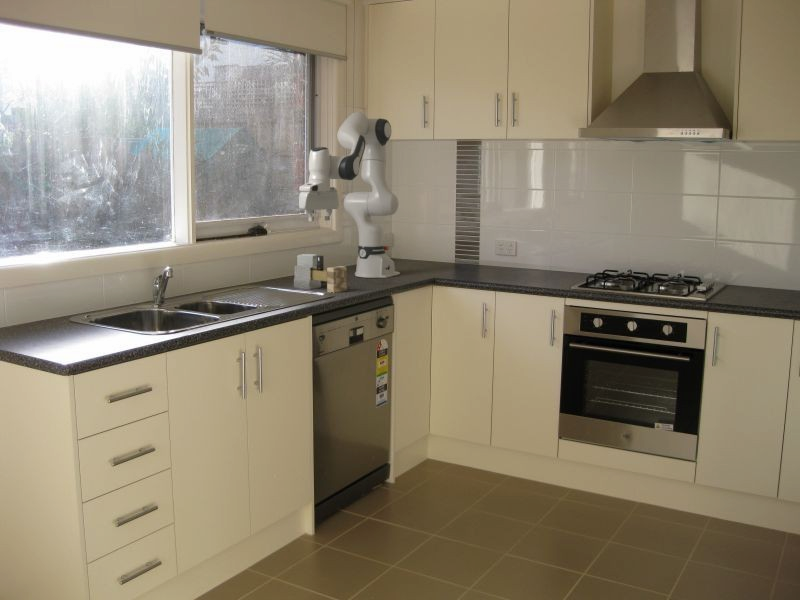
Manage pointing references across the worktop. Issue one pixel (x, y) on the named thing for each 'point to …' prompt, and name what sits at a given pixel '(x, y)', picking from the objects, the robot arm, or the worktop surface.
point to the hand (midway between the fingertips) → (319, 220)
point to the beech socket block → (337, 279)
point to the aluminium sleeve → (305, 277)
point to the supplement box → (307, 259)
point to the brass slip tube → (319, 270)
